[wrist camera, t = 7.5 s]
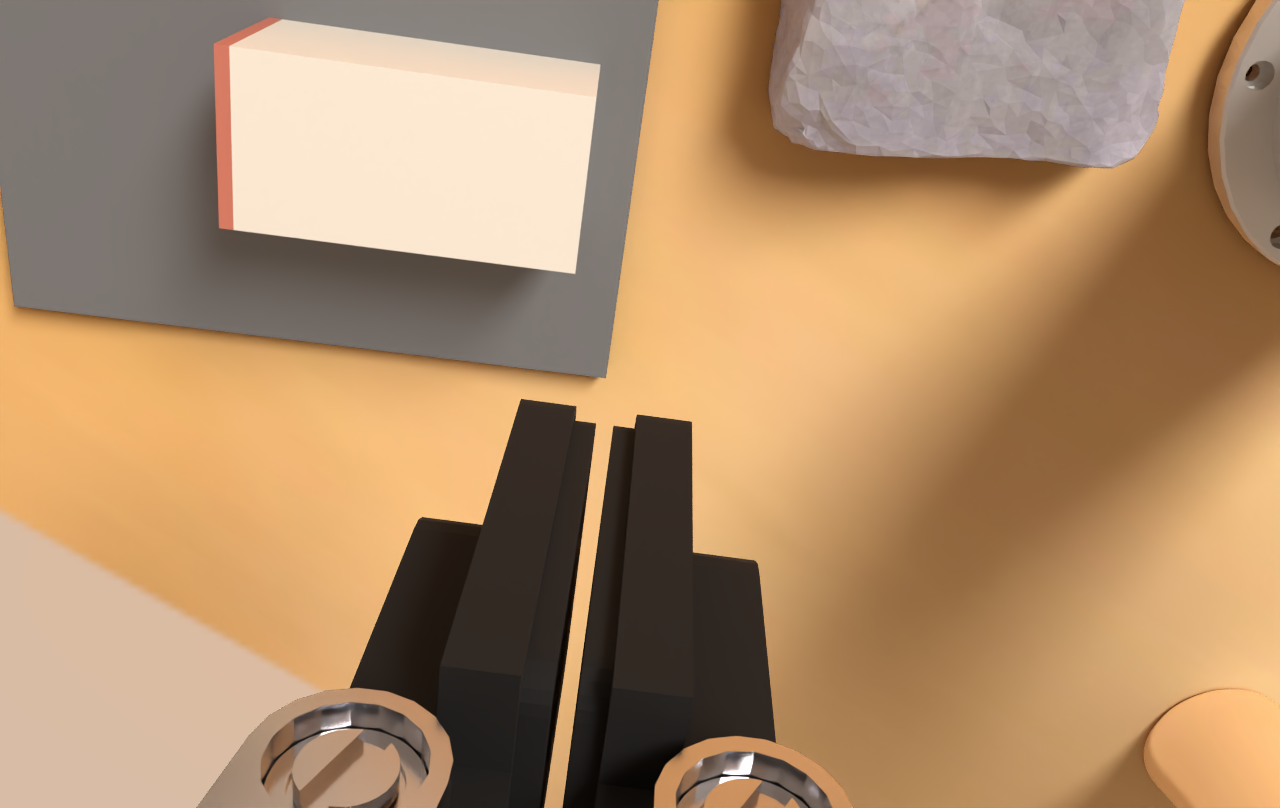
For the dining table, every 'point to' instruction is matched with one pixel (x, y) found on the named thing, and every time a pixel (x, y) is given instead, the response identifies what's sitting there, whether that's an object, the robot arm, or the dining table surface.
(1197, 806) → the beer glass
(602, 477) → the dining table surface
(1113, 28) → the stone block
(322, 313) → the charcoal mat
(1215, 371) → the dining table surface
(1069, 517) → the dining table surface
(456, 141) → the cream block
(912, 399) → the dining table surface
